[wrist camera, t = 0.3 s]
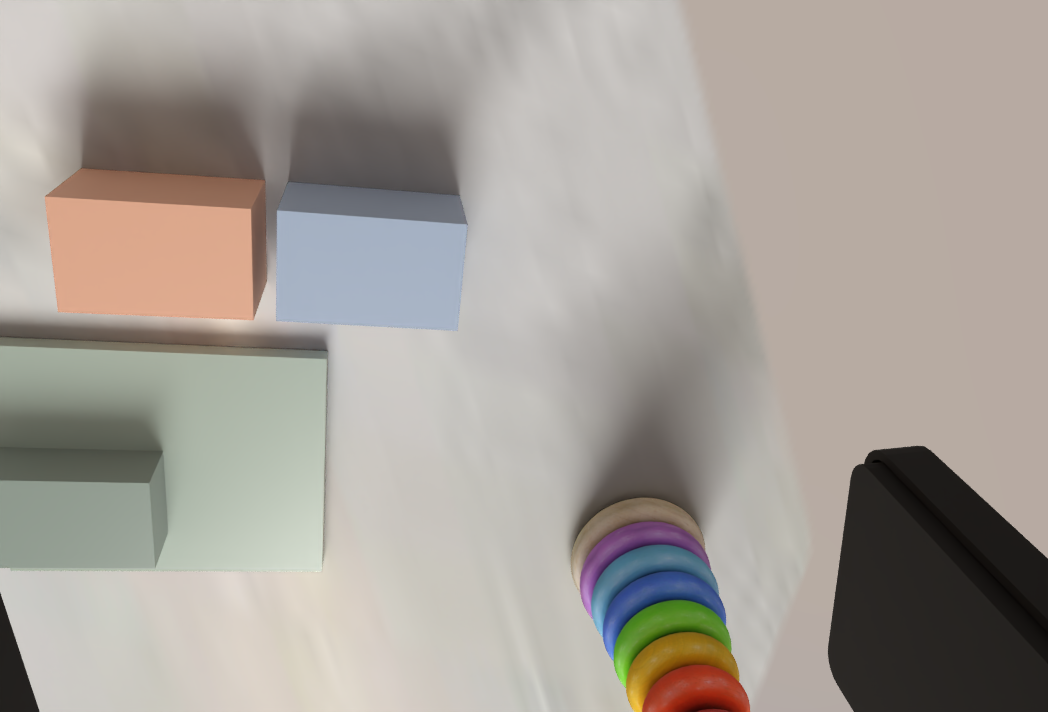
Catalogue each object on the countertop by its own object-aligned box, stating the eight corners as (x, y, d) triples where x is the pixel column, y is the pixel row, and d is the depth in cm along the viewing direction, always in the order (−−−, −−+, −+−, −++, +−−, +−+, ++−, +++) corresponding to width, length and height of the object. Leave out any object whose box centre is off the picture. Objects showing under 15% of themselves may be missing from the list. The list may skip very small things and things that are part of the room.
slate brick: (288, 180, 43) (276, 210, 38) (459, 194, 44) (467, 224, 40) (287, 281, 45) (276, 320, 40) (450, 291, 46) (457, 330, 42)
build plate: (-15, 336, 44) (-51, 372, 40) (327, 350, 46) (322, 386, 43) (17, 558, 49) (-12, 608, 45) (323, 560, 52) (318, 607, 48)
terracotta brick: (82, 167, 41) (44, 196, 37) (265, 179, 43) (250, 208, 38) (92, 272, 43) (58, 312, 39) (267, 280, 45) (253, 320, 40)
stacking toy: (714, 496, 53) (863, 757, 37) (680, 605, 57) (803, 891, 40) (583, 485, 52) (677, 752, 35) (556, 598, 55) (630, 892, 38)
